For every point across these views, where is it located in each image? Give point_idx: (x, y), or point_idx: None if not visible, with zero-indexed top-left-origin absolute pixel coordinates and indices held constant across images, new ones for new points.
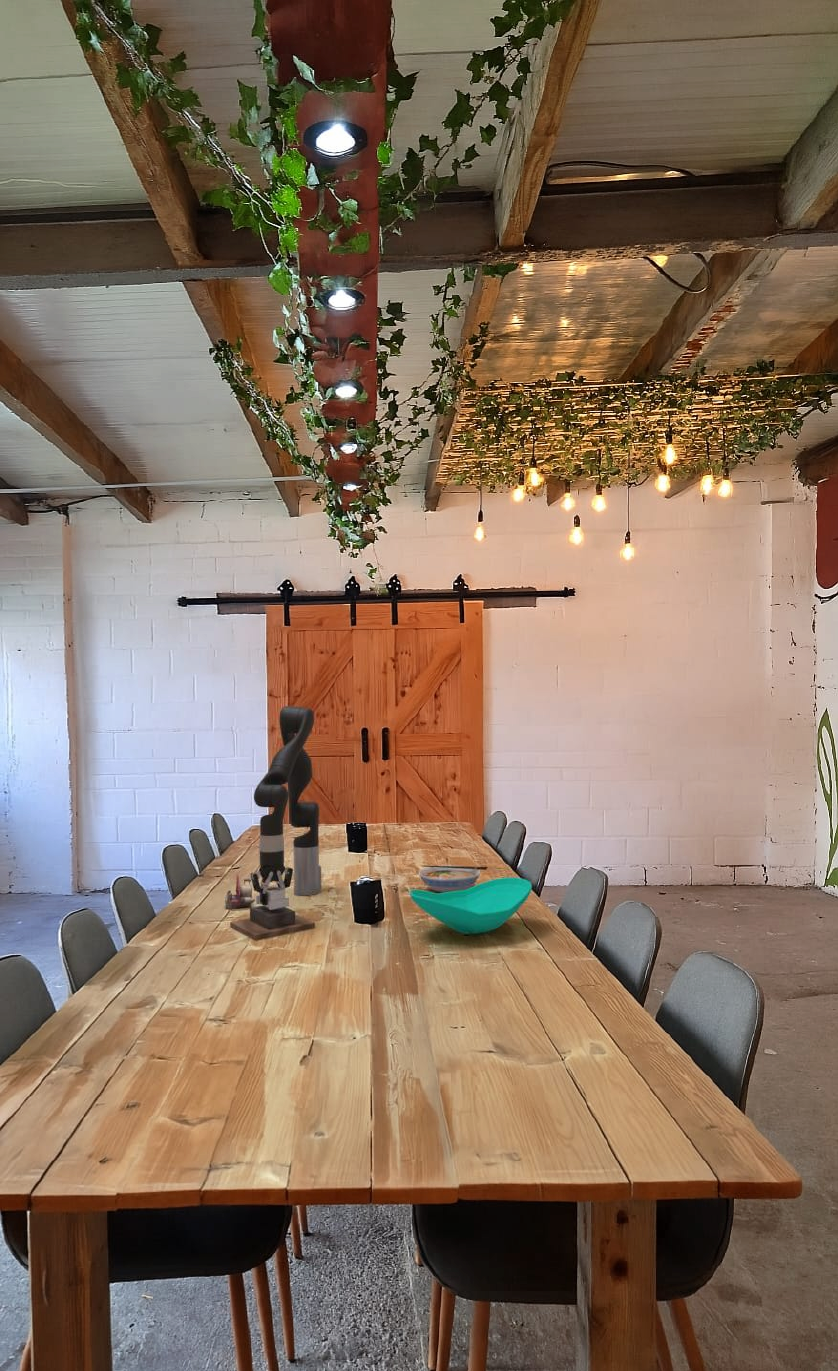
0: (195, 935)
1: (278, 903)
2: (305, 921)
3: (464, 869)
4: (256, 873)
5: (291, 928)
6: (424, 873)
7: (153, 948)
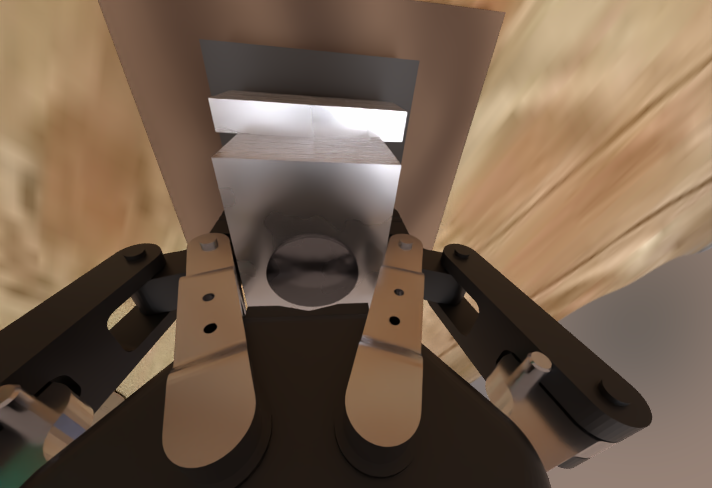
0: (535, 246)
1: (325, 102)
2: (149, 54)
3: None
4: (586, 441)
5: None
6: None
7: (684, 211)
